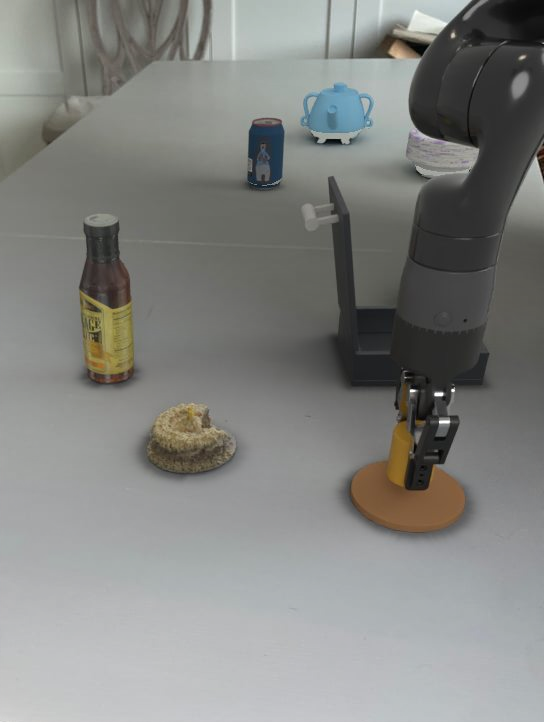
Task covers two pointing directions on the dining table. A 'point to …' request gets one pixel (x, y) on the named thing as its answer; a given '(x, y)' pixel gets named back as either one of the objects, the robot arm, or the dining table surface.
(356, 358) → the grey storage bin
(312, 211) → the lid
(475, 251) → the robot arm
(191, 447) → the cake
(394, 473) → the orange cylinder
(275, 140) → the soda can
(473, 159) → the paper bowls
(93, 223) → the sauce bottle
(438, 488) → the coaster
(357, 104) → the teapot
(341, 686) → the dining table surface
